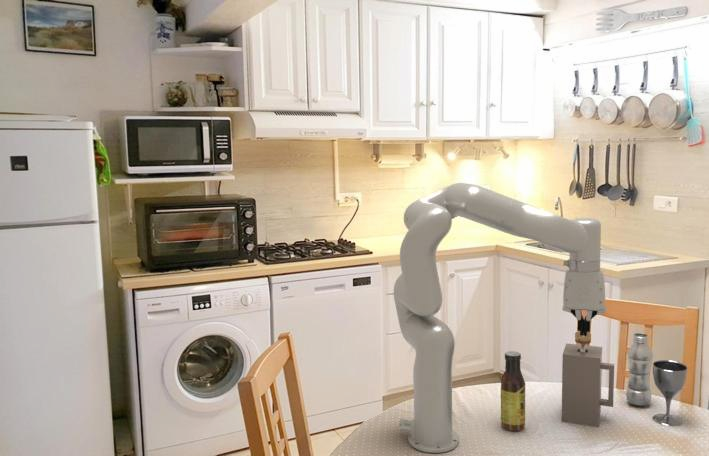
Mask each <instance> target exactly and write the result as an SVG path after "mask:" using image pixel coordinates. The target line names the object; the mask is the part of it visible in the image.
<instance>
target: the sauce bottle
mask: <svg viewBox="0 0 709 456" xmlns="http://www.w3.org/2000/svg"><path fill="white" fill-rule="evenodd" d="M521 355H522V354H521V353H520V352H518V351H514V350H513V351H511V350H509V351H506V352H505V353H504V360H505V367H504V369H505V371H504V373H502V375H501V377H500V386H501V387H500V421H501V422H500V424H501V427H502V428H503V429H504V430H505V431H506V430H507V431H510V432H511V431H512V432H520V431H522V430H524V428H525V425H526V382H525V378H524V376H523V373H522V370H521V360H522V356H521Z"/></svg>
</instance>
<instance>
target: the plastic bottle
mask: <svg viewBox="0 0 709 456" xmlns="http://www.w3.org/2000/svg"><path fill="white" fill-rule="evenodd" d="M632 339H633V340H632V341H633V343H632V344H631V346H630V347H629V348H628V350H627V358H628V372H629V373H628V382H627V383H628V384H627V388H626V391H625V392H626V393H625V396H626V400H627V401H628V403H629V404H631V405H632V406H637V407H646V406H648V405H649V404H650V403H651V402H652V400H651V399H652V390H651V378H650V376H651V368H652V365H653V364H652V363H653V358H654V353H653V350H652V348H651V347H650V346H649V345H648V343H649V335H648V334H646V333H643V332H641V333H640V332H637V333H634V334H633V338H632Z"/></svg>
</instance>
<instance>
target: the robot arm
mask: <svg viewBox="0 0 709 456" xmlns="http://www.w3.org/2000/svg"><path fill="white" fill-rule="evenodd" d="M458 217H460V218H463V219H467V220H470V221H472V222H474V223H478V224H480V225H484V226H486V227H489V228H492V229H494V230H498V232H499V231H500V232H503V233H504V234H509V235H511V236H515V237H518V238H522V239H528V240H532V241H535V242H538V243H541V244H542V245H544V246H546V247H548V248H551V249H554V250H558V251H561V252H565V253H568V254H569V258H568V259H567V260H563V266H566V267H567V268H568V269H566V271H565V274H564V280H563V281H564V283H563V297H562V302H563V303H562V304H563V305H562V309H561V310H562V311H564V312H565V313H566V312H567V313H569V314H570V313H571V315H573V316H574V318H576V320H577V332H580V335H583V333H584V335H585V336H587V332H588V333H590V332H591V320H592V319H594V317H595V316H599V315H600V316H601V315H604V314H606V313H607V309H606V284H605V275H604V271H602V270H601V248H602V247H601V240H602V239H601V237H602V236H601V234H602V225H601V224H602V223H601V222H600V220H599V219H597V218H592V217H577V218H574V219H568V218H566V217H562V216H560V215H559V214H558V215H557V214H554V213H552V212H549V211H547V210H543V209H541V208H538V207H536V206H534V205H531V204H528V203H525V202H522V201H520V200H517V199H515V198H512V197H510V196H507V195H504V194H501V193H500V192H496V191H494V190H491V189H488V188H486V187H484V186H480V185H477V184H473V183H466V182H464V183H463V182H457V183H453V184H451V185H447V186H446V187H443V188H441V189H439V190H436V191H434V192H432V193H430V194H428V195H426V196H424V197H421V198H418V199H417V200H415V201H413V202H412V203H410V204H409V205H408V206H407V208H405V211H404V213H403V223H404V226H405V227H406V229H407V232H406V234H405V235H404V237H403V239H402V242H401V245H400V249H399V261H400V262H399V264H400V269H401V274H400V275H399V276H398V277H397V279H396V280H395V283H394V286H393V299H394V304H395V309H396V314H397V320H398V324H399V328H400V329H399V330H400V331H401V334H402V337H403V339H404V340H405V341H406V343H408V345H409V346H411V347H412V348H413V349H414V350H415V358H414V363H413V370H412V372H413V376H412V379H413V381H412V383H413V416H414V417H413V419H411V420H408V419H405V418H399V422H398V423H399V424H398V426H399V427H400V431H404V432H409V433H408V443H409V445H410V446H411V447H413V448H414V449H415V450H417V451H421V452H424V453H430V454H431V453H432V454H434V453H435V454H440V453H446V452H450V451H452V450H453V449H455V448H457V447H458V446H459V442H460V438H459V437H460V436H459V435H458V433H457V432H456V431H454V430H453V375H452V374H453V360H454V353H455V347H456V341H455V337H454V334H453V332H452V330H451V328H450V327H449V326H448V325H447V324H446V323H445V322H443V321H442V320H441V319H439V318H438V317H436V316H435V315H436V314H438V313H439V311H440V309H441V308H442V306H443V293H442V292H443V291H442V288H441V283H440V277H439V272H438V268H437V260H436V255H437V250H438V248H439V245H440V244H441V242H442V241H443V240H444V238H446V236H447V235H448V234H449V232H450V230H451V228H452V225H453V219H455V218H458ZM582 311H587V312H586V316H583V313H582Z"/></svg>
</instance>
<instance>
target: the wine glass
mask: <svg viewBox="0 0 709 456" xmlns="http://www.w3.org/2000/svg"><path fill="white" fill-rule="evenodd" d="M652 363H653V364H652V376H653V377H652V378H653V382H654V384H655V386H656V388H657V389H658V390H659V392H660V393H661V394H662V395H663V398H664V399H665V405H666V406H665V408H666V411H665V413H657V414H655V415H653V416H652V419H653V421H654V422H656V423H657V424H660V425H663V426H667V427H678V426H681V425H683V423H684V421H683V420H682V419H681V418H680V417H679V416H676V415H673V414H670V411H671V404H672V400H673V398H674V397H675V396H677V394H679V393H680V392H682V390H683V389H684V387H685V384H686V382H687V381H686V380H687V376H688V366H687V365H685V364H684V363H681V362H679V361H675V360H667V359H662V360H661V359H660V360H656V361H654V362H652Z"/></svg>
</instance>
